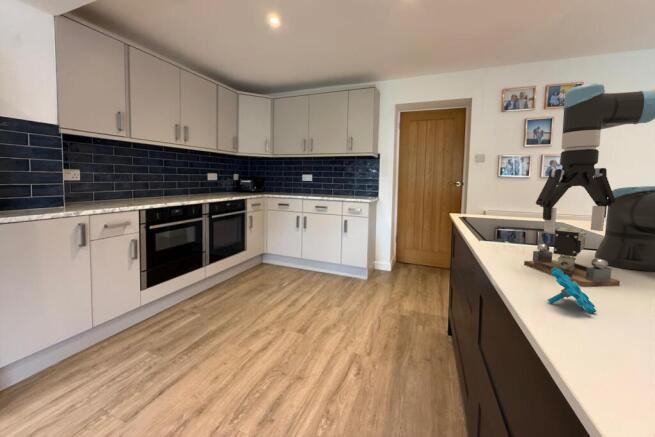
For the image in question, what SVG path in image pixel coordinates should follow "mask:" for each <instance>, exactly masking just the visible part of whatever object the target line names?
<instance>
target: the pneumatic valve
mask: <svg viewBox="0 0 655 437" xmlns="http://www.w3.org/2000/svg"><path fill="white" fill-rule="evenodd" d="M585 235H586V230H585V231H584V228H575V227H573V225H567V227H566V226H565V227H562V226H561V227H560V228H558V229H555V233H554V242H553V254H552V255H559V256H558V257H557V260H558V266H557V268H559V269H563V270H569V271H570V272H572V271H573V270H574V269H575V267H574V264H575V263H576V259H577V258H576V257H577V256H578V255H579V254H580V253H581V252H582V251H583V250H584V249H585V244H586V236H585ZM564 262H567V263H568V264H569V265H567V264H565V263H564Z"/></svg>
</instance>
